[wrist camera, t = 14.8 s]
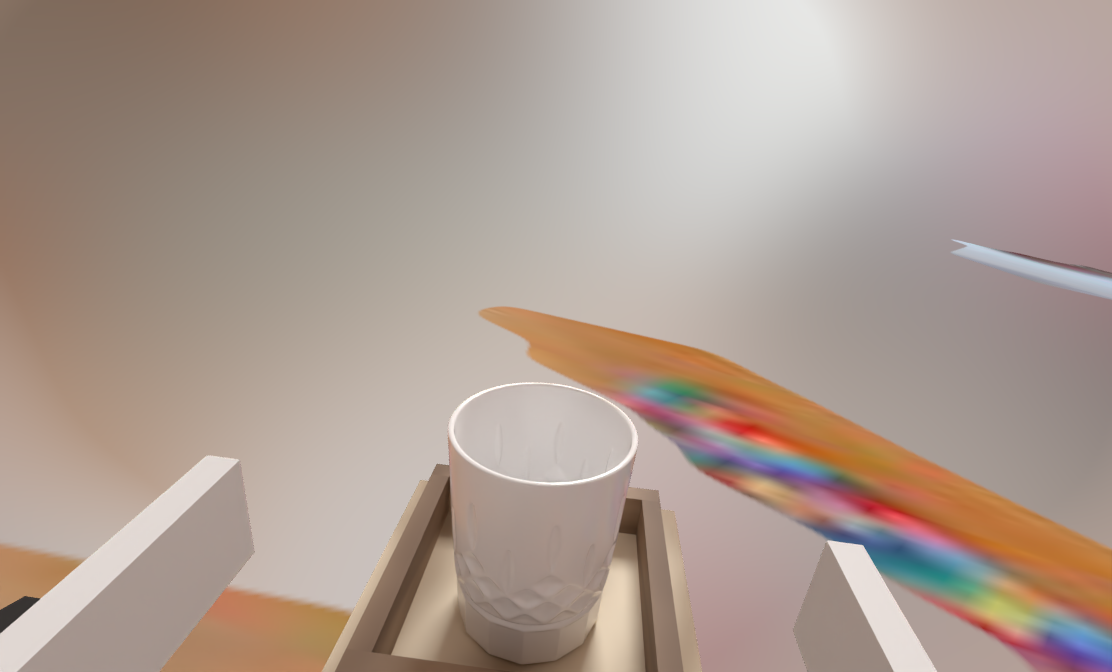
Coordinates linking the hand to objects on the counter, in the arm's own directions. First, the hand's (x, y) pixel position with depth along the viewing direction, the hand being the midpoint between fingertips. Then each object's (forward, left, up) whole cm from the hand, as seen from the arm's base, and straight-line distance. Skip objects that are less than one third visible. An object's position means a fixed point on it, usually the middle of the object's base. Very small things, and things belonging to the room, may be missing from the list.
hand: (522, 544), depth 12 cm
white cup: (0, +10, -13) cm, 16 cm away
